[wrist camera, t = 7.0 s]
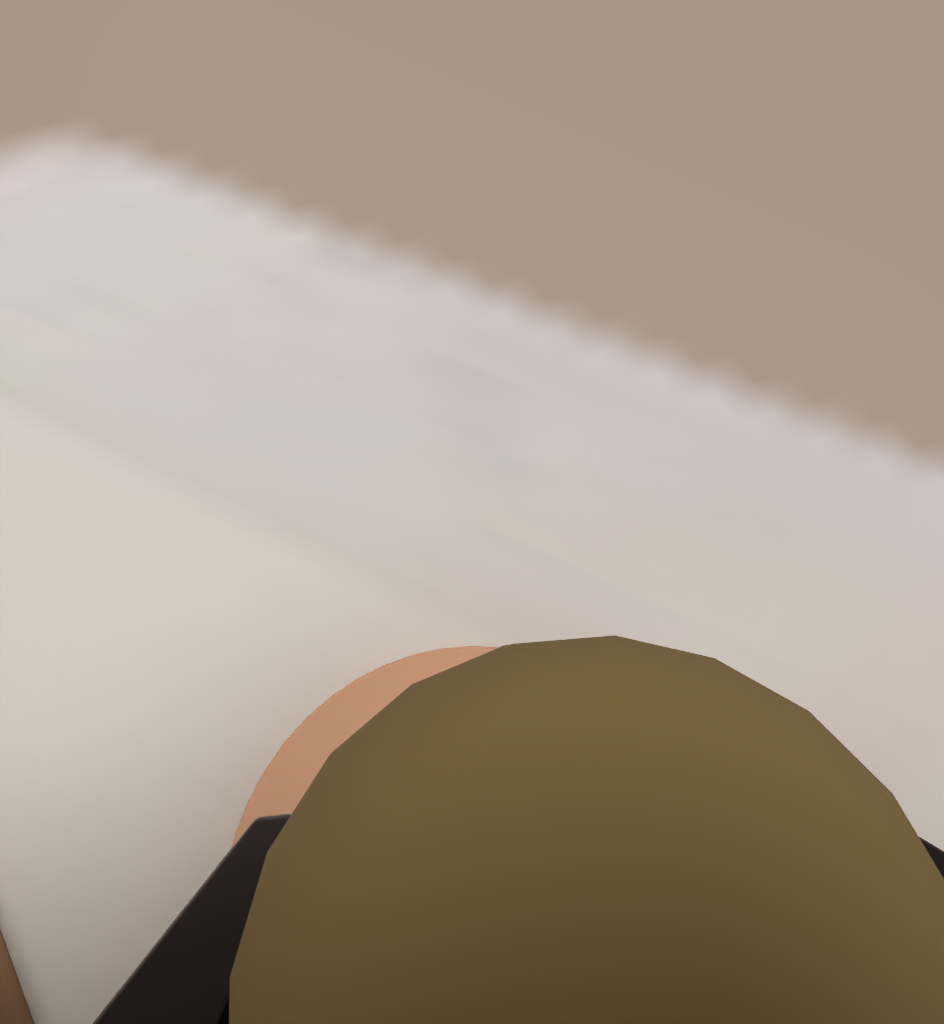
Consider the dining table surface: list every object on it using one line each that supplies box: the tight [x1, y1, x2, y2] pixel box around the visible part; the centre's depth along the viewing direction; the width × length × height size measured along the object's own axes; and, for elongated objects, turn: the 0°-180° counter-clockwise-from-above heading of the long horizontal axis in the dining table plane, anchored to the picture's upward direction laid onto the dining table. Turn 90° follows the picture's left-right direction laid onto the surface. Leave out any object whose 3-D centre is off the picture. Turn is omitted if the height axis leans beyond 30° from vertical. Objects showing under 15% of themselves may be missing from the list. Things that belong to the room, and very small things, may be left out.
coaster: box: [232, 646, 499, 847], centre depth 19 cm, size 12×12×1 cm
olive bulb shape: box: [229, 636, 944, 1024], centre depth 9 cm, size 6×6×11 cm
